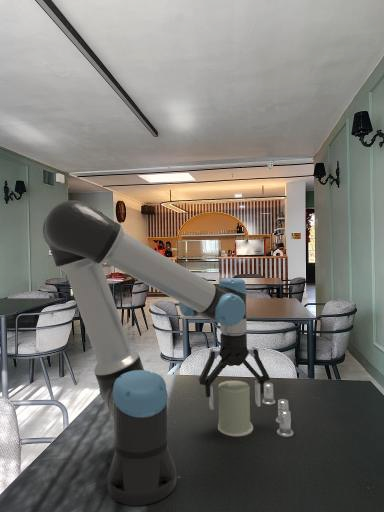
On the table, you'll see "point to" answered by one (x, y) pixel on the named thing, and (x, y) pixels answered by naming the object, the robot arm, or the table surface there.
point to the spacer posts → (279, 411)
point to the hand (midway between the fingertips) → (234, 406)
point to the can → (234, 406)
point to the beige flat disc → (237, 433)
